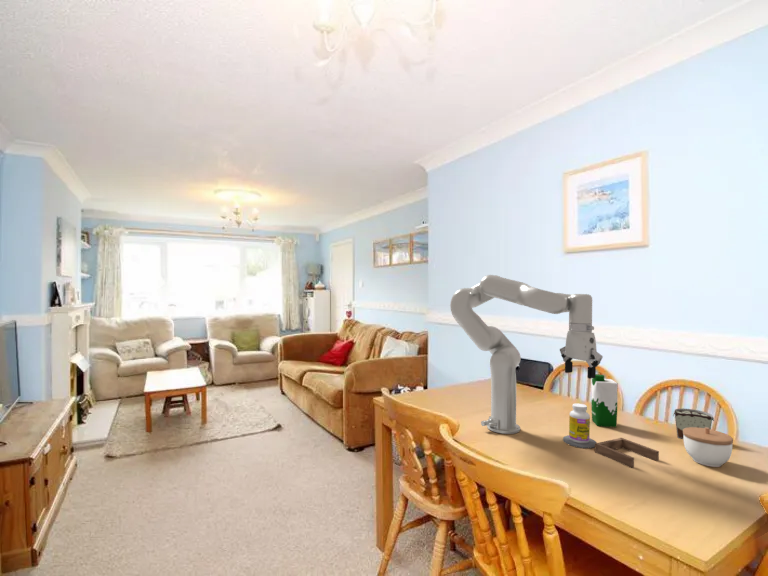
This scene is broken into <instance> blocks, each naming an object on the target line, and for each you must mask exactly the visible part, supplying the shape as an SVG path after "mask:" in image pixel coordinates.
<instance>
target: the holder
mask: <svg viewBox="0 0 768 576" xmlns="http://www.w3.org/2000/svg"><path fill="white" fill-rule="evenodd" d="M619 449H624V450H627V451H629V452H630V453H631V452H632V453H635V454H637V455H639V456H641V457H645V458H647V459H650V460H653V461H655V462H658V461H660V459H659V458H660V455H659V454H660V451H658V450H657V449H654V448H651V447H649V446H645V445H643V444H640V443H637V442H634V441H632V440H630V439H629V440H628V439H626V438H625V437H624V438H623V437H618V438H613V439H609V440H605V441H600V442H597V443H595V448H594V453H595V454H597V455H600V456H602V457H605V458H607V459H610V460H612V461H614V462H616V463H619V464H621V465H623V466H626V467H628V468H630V467H631V468H630V469H632V468H633V469H634V467H635V457H633V456H631V455H629V454H625V453H623V452H621V451H618V450H619Z"/></svg>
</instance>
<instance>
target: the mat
mask: <svg viewBox="0 0 768 576" xmlns="http://www.w3.org/2000/svg"><path fill="white" fill-rule="evenodd" d="M562 441H563V443H565V444H566V445H568V444H569V445H568V446H571V447H574V448H579V449H586V450H587V449H595V443H598V442H597V441H596V440H594V438H590V437H589V442H588V443H576V442H573V441H571V440H570V438H569V434H568V435H565V436H563V437H562Z"/></svg>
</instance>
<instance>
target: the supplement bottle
mask: <svg viewBox="0 0 768 576" xmlns="http://www.w3.org/2000/svg"><path fill="white" fill-rule="evenodd" d="M587 410H588V406H587V405H586V404H584V403H578V402H577V403H573V404H572V410H571V411H569V414H568V415H569V417H568V418H569V420H568V421H569V425H568V427H569V429H568V430H569V431H568V435H569V438H570V440H571V441H573V442H576V443H588V442H589V438H590V435H591V434H590V433H591V432H590V429H591V428H590V427H591V426H590V425H591V424H590V423H591V422H590V421H591V420H590V418H591V417H590V414H589V413H588V412H587Z"/></svg>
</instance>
